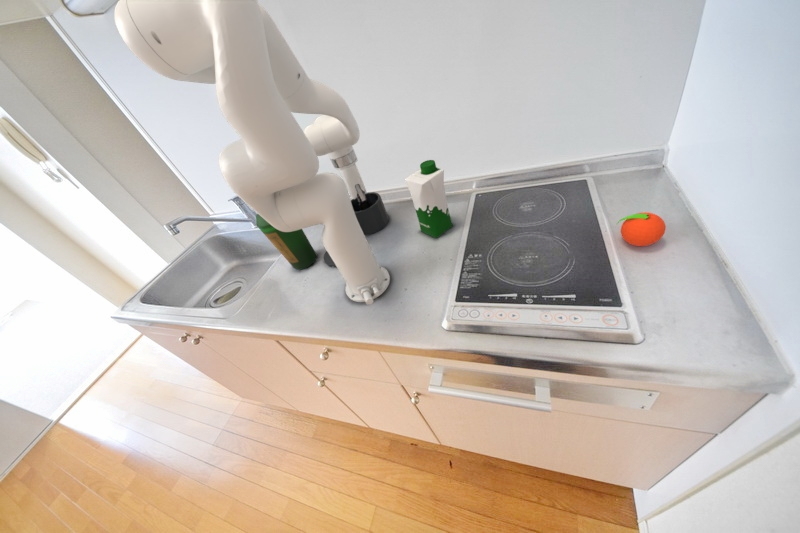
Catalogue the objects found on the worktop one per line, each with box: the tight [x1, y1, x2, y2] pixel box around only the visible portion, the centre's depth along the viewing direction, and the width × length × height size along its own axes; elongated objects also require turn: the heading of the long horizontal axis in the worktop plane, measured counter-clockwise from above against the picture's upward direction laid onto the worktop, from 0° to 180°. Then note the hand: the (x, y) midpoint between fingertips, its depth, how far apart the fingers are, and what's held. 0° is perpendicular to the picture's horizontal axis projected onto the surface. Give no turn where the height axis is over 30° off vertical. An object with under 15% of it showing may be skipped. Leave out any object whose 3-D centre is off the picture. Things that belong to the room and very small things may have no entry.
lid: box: [323, 251, 337, 267], centre depth 85 cm, size 13×13×6 cm
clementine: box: [617, 212, 666, 247], centre depth 56 cm, size 8×7×7 cm
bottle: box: [255, 213, 318, 271], centre depth 81 cm, size 11×11×28 cm
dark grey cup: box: [350, 191, 390, 236], centre depth 92 cm, size 12×12×9 cm
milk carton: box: [404, 159, 453, 239], centre depth 76 cm, size 9×9×20 cm
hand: (366, 210), depth 92 cm, fingers closed
